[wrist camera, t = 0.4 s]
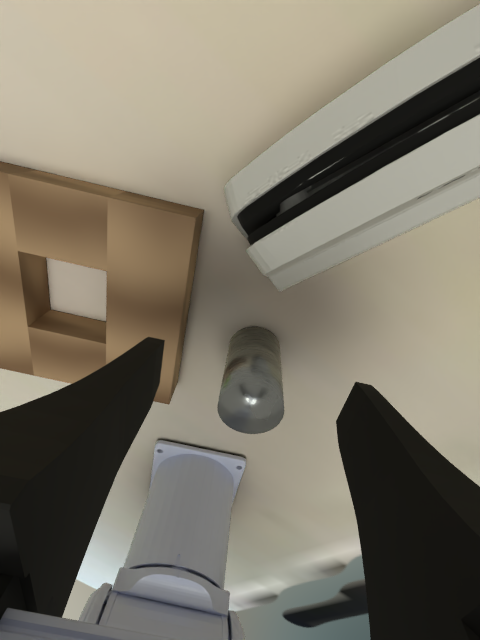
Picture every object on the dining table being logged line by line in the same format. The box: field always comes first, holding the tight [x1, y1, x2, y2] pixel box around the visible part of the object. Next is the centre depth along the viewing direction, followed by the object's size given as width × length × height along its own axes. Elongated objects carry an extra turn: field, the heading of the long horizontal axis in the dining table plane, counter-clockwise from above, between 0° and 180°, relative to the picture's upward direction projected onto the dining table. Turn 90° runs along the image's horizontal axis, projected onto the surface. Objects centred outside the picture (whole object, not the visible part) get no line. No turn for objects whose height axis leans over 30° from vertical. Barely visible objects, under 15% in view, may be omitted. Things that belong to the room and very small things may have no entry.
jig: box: [0, 162, 204, 404], centre depth 20 cm, size 13×18×3 cm
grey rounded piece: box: [224, 4, 480, 292], centre depth 13 cm, size 17×5×10 cm, turn 119°
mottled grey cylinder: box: [218, 327, 284, 434], centre depth 20 cm, size 4×4×6 cm
